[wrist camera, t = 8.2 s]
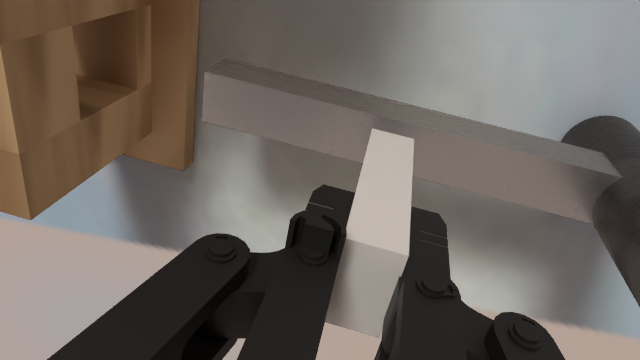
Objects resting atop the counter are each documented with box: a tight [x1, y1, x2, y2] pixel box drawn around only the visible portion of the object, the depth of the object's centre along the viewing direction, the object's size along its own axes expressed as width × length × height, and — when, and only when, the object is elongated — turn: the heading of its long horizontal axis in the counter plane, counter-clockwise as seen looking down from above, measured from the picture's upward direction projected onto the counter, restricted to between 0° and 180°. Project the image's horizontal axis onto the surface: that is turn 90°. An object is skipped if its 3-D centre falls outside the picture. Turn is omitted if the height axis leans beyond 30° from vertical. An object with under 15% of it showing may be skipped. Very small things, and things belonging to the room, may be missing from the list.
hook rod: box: [202, 59, 640, 307], centre depth 18 cm, size 20×4×12 cm, turn 79°
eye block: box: [0, 0, 200, 220], centre depth 20 cm, size 8×14×10 cm, turn 169°
